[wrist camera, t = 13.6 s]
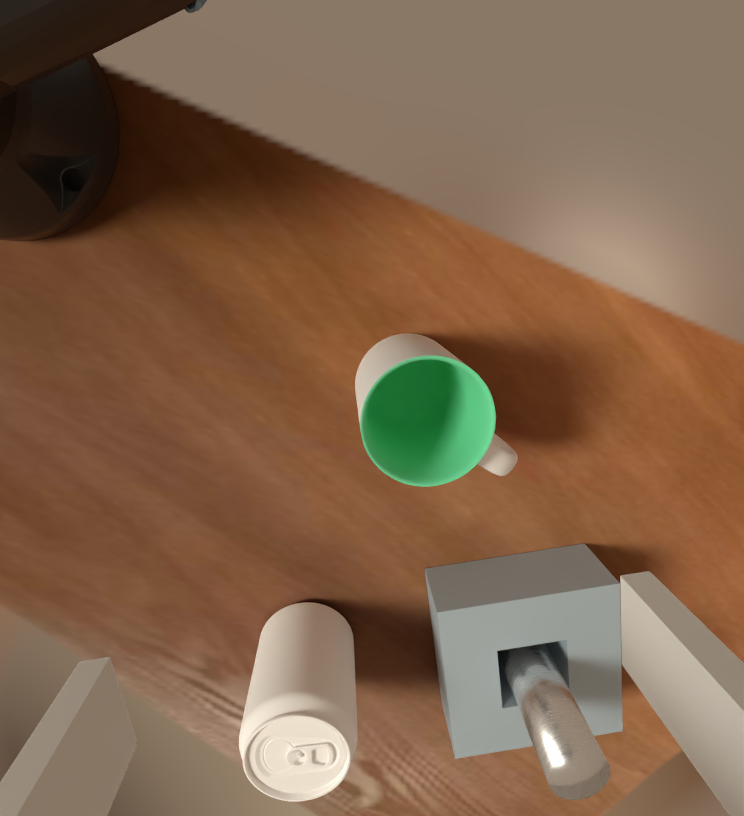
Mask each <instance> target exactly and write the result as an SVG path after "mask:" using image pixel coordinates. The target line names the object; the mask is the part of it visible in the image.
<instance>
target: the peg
mask: <svg viewBox="0 0 744 816" xmlns="http://www.w3.org/2000/svg"><path fill="white" fill-rule="evenodd" d="M497 654H498V657H499V660H500V662H501V665H502V667H503V670H504V672H505V675H506V677H507V680H508V682H509V685H510V687H511V690H512V693H513V695H514V698H515V700H516V703H517V705H518V708H519V710H520V713H521V715H522V718H523V720H524V723H525V726H526V728H527V731H528V733H529V736H530V738H531V741H532V743H533V746H534V748H535V751H536V753H537V756H538V758H539V761H540V764H541V766H542V769H543V771H544V774H545V776H546V779H547V781H548V784H549V786H550V788H551V790H552V791H553V792H554V793H555V794H556V795H557V796H559V797H561V798H564V799H569V800H579V799H584V798H587V797H590V796H592V795H594V794H596V793H597V792H599V791H600V790H601V789H602V788H603V787H604V786H605V784H606V783H607V781H608V779H609V776H610V766H609V764H608V762H607V760H606V758H605V756H604V754H603V752H602V750H601V748H600V746H599V745H598V743H597V741H596V739H595V737H594V735H593V733H592V731H591V729H590V728H589V726H588V724H587V722H586V720H585V718H584V716H583V714H582V712H581V711H580V709H579V707H578V705H577V703H576V701H575V699H574V697H573V695H572V694H571V692H570V690H569V688H568V686H567V684H566V682H565V680H564V678H563V677H562V675H561V673H560V671H559V669H558V667H557V665H556V663H555V661H554V660H553V658H552V656H551V654H550V652H549V650H548V648H547V646H546V644H545V643H543V644H537V645H531V646H525V647H519V648H512V649H506V650H500V651H497Z"/></svg>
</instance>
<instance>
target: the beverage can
mask: <svg viewBox="0 0 744 816" xmlns="http://www.w3.org/2000/svg"><path fill="white" fill-rule="evenodd" d="M356 747H357V712H356V686H355V661H354V639H353V633H352V630H351V628H350V625H349V624H348V622H347V621H346V619H345V618H344V617H343V616H342V615H341V614H340V613H338V612H337V611H336V610H334V609H332V608H330V607H328V606H326V605H323V604H319V603H311V602H304V603H296V604H292V605H289V606H287V607H285V608H283V609H281V610H279V611H278V612H276V613H275V614H274V615H273V616H272V617H271V618H270V619H269V620H268V621H267V622H266V624H265V626H264V627H263V630H262V632H261V636H260V640H259V645H258V650H257V654H256V659H255V664H254V668H253V673H252V678H251V683H250V687H249V692H248V697H247V701H246V706H245V711H244V715H243V720H242V725H241V730H240V735H239V749H240V754H241V757H242V760H243V767H244V771H245V773H246V775H247V777H248V779H249V781H250V782H251V783H252V784H253V785H254V786H255V787H256V788H257V789H258V790H260V791H261V792H262V793H264V794H266V795H268V796H270V797H273V798H275V799H279V800H284V801H306V800H311V799H315V798H318V797H320V796H323V795H325V794H327V793H328V792H330V791H331V790H333V789H334V788H335V787H337V786H338V785H339V784H340V783H341V781H342V780H343V779H344V777H345V776H346V774H347V772H348V769H349V766H350V763H351V761H352V759H353V757H354V754H355V751H356Z"/></svg>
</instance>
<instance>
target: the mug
mask: <svg viewBox="0 0 744 816" xmlns="http://www.w3.org/2000/svg"><path fill="white" fill-rule="evenodd" d="M355 391H356V399H357V407H358V414H359V422H360V429H361V436H362V440H363V444H364V446H365V449H366V451H367V453H368V455H369V456H370V458H371V459H372V461H373V462H374V463H375V465H376V466H377V467H378V468H379V469H380V470H381V471H383V472H384V473H385V474H387V475H388V476H390V477H391V478H393V479H395V480H397V481H399V482H402V483H405V484H409V485H413V486H425V487H426V486H437V485H442V484H445V483H448V482H451V481H454V480H456V479H458V478H460V477H461V476H463V475H465V474H466V473H467V472H469V471H470V470H471V469H472V468H474V467H475V466H476V465H477V464H478V465H480V466H482V467H483V468H485V469H487V470H488V471H490V472H492V473H494V474H496V475H499V476H505V475H507V474H508V473H509V472H510V471H511V470H512V469H513V468H514V466H515V464H516V463H517V460H518V456H517V454H516V452H515V451H514V450H513V449H512V448H511V447H510V446H509V445H508V444H507V443H506V442H504V441H503V440H502V439H501V438H500V437H498V436H497V435H496V434H495V433H494V431H495V424H496V412H495V406H494V401H493V398H492V395H491V393H490V391H489V389H488V387H487V385H486V384H485V382H484V381H483V380H482V379H481V377H480V376H479V375H478V374H477V373H476V372H475V371H473V370H472V369H471V368H470V367H468V366H467V365H466V364H464V363H463V362H462V361H461V360H459V359H458V358H457V357H455V356H454V355H453V354H452V353H450V352H449V351H448V350H446V349H445V348H444V347H442V346H441V345H440V344H439V343H437V342H436V341H434V340H432V339H430V338H428V337H426V336H422V335H418V334H410V333H406V334H398V335H394V336H390V337H388V338H386V339H384V340H382V341H380V342H378V343H377V344H376V345H374V346H373V347H372V348H371V349H370V350H369V351H368V352H367V354H366V355H365V356H364V358H363V359H362V361H361V363H360V365H359V367H358V370H357V374H356V380H355Z"/></svg>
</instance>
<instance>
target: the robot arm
mask: <svg viewBox="0 0 744 816" xmlns="http://www.w3.org/2000/svg"><path fill="white" fill-rule="evenodd" d="M205 2H206V0H0V240H12V241H28V240H36V239H42V238H46V237H50V236H53V235H56V234H58V233H61V232H63V231H65V230H67V229H69V228H70V227H72V226H74V225H75V224H77V223H78V222H80V221H81V220H82V219H83V218H84V217H86V216H87V215H88V214H89V213H90V212H91V211H92V210H93V208H94V207H95V206H96V205H97V204H98V202H99V201H100V199H101V198H102V196H103V195H104V193H105V191H106V189H107V187H108V185H109V183H110V181H111V178H112V175H113V172H114V169H115V165H116V160H117V154H118V144H119V130H118V119H117V113H116V108H115V103H114V100H113V96H112V93H111V90H110V87H109V85H108V82H107V80H106V78H105V75H104V73H103V71H102V69H101V67H100V66H99V64H98V62H97V61H96V59H95V57H94V56H93V53H95V52H97V51H99V50H102V49H103V48H105V47H108V46H110V45H112V44H114V43H115V42H118V41H120V40H122V39H124V38H126V37H128V36H130V35H132V34H134V33H136V32H138V31H140V30H142V29H144V28H146V27H148V26H150V25H152V24H154V23H156V22H158V21H160V20H163V19H165V18H167V17H169V16H171V15H173V14H175V13H177V12H179V11H181V10H183V9H185V10H186V11H187V12H189V13H192V12H195V11H197V10H199V9H200V8H201V7H202V6H203V5H204V3H205ZM620 586H621V642H622V665H623V667H624V668H625V670H626V671H627V672H628V674H629V675H630V677H631V678H632V679H633V681H634V682H635V684H636V685H637V686H638V688H639V689H640V691H641V692H642V693H643V695H644V696H645V698H646V699H647V701H648V702H649V703H650V705H651V706H652V708H653V709H654V710H655V712H656V713H657V715H658V716H659V717H660V719H661V720H662V722H663V723H664V724H665V726H666V727H667V729H668V730H669V731H670V733H671V734H672V736H673V737H674V738H675V740H676V741H677V743H678V744H679V745H680V747H681V748H682V750H683V751H684V752H685V754H686V755H687V757H688V758H689V759H690V761H691V762H692V764H693V765H694V767H695V768H696V769H697V771H698V772H699V774H700V775H701V776H702V778H703V779H704V781H705V782H706V783H707V785H708V786H709V788H710V789H711V790H712V792H713V793H714V795H715V796H716V797H717V799H718V800H719V802H720V803H721V805H722V806H723V807H724V808H725V810H726V811H727V813H728V814H729V816H744V663H743V662H742V661H741V660H740V659H739V658H738V657H737V656H736V655H735V654H734V653H733V652H732V651H731V650H730V649H729V648H728V647H727V646H725V645H724V644H723V643H722V642H721V641H720V640H719V639H718V638H717V637H716V636H715V635H714V634H713V633H712V632H711V631H710V630H709V629H708V628H707V627H706V626H705V625H704V624H703V623H702V622H701V621H700V620H699V619H698V618H697V617H696V616H695V615H694V614H693V613H692V612H691V611H690V610H689V609H688V608H687V607H686V606H685V605H684V604H683V603H682V602H681V601H680V600H679V599H678V598H676V597H675V596H674V595H673V594H672V593H671V592H670V591H669V590H668V589H667V588H666V587H665V586H664V585H663V584H662V583H661V582H660V581H659V580H658V579H657V578H656V577H655V576H654V575H653V574H652V573H651V572H650V571H646V572H640V573H634V574H627V575H621V576H620ZM137 744H138V743H137V740H136V737H135V734H134V730H133V727H132V724H131V721H130V718H129V715H128V712H127V709H126V706H125V702H124V699H123V696H122V693H121V690H120V687H119V684H118V681H117V677H116V674H115V671H114V668H113V665H112V662H111V659H110V657H106V658H99V659H93V660H87V661H81V662H79V663H78V665H77V666H76V668H75V669H74V671H73V672H72V674H71V675H70V677H69V678H68V680H67V681H66V683H65V684H64V686H63V688H62V689H61V690H60V692H59V694H58V695H57V697H56V698H55V700H54V701H53V703H52V704H51V706H50V707H49V709H48V710H47V712H46V713H45V715H44V716H43V718H42V719H41V721H40V722H39V724H38V726H37V727H36V729H35V730H34V732H33V733H32V735H31V736H30V738H29V739H28V741H27V742H26V744H25V745H24V747H23V748H22V750H21V752H20V753H19V755H18V756H17V757H16V759H15V761H14V762H13V764H12V765H11V767H10V768H9V770H8V771H7V773H6V774H5V776H4V777H3V779H2V780H1V782H0V816H107V815H108V812H109V810H110V808H111V805H112V803H113V801H114V798H115V796H116V793H117V791H118V789H119V786H120V784H121V782H122V779H123V777H124V774H125V772H126V770H127V767H128V765H129V763H130V760H131V758H132V756H133V753H134V751H135V748H136V746H137Z"/></svg>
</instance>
